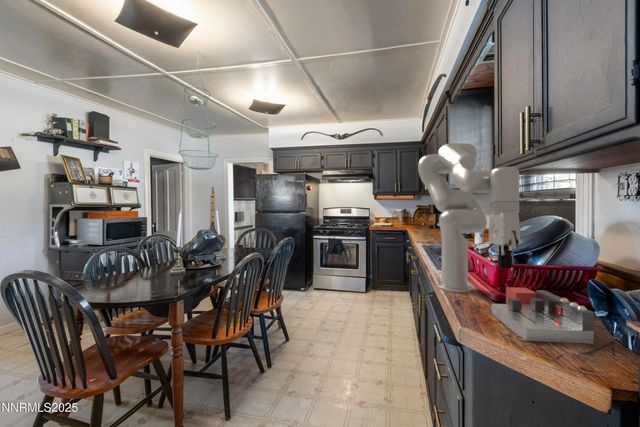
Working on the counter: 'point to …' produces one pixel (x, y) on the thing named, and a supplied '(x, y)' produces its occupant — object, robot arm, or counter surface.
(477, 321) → the counter surface
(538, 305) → the block
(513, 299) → the block
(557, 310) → the grey slider control panel
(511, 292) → the matte red cuboid
